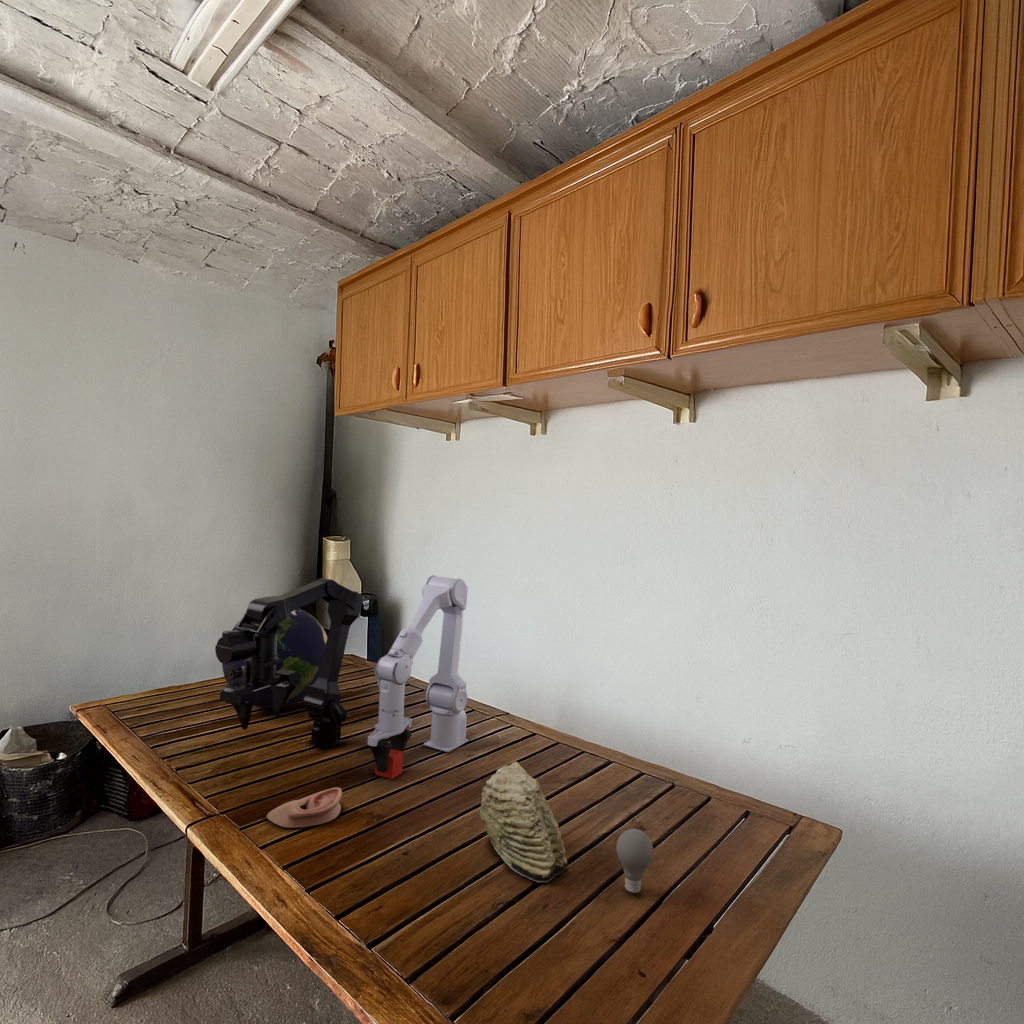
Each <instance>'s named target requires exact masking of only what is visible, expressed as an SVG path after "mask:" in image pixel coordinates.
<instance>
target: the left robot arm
mask: <svg viewBox="0 0 1024 1024" xmlns="http://www.w3.org/2000/svg"><path fill="white" fill-rule="evenodd" d="M319 600H323V601H325V602H326V603H327V614H328V617H329V621H330V624H329V629H328V632H327V633H328V634H327V642H326V646H325V650H324V654H323V659H322V663H321V667H320V672H319V676H318V679H317V680H316V681H315V683H314V684H313V685H308V686H307V689H306V695H305V698H304V699H303V700H302V701H303V702H304V705H303V707H304V709H305V711H306V712H307V715H308V719H311V720H313V721H312V722H313V723H312V727H311V730H310V731H311V732H310V733H311V735H310V739H309V740H308V743H309V744H310V745H313V746H314V747H316V748H318V749H320V750H327V749H329V748H333V747H336V746H340V745H343V744H344V743H345V741H344V740H343V739H341V737H342V735H341V733H342V724H343V722H346V720H347V717H348V714H349V712H348V710H347V709H346V708H345V707H343V705H341V695H342V694H341V690H340V686H339V683H338V682H339V677H340V673H341V668H342V664H343V659H344V654H345V652H346V651H345V650H346V647H347V646H346V645H347V642H348V637H349V632H350V628H351V625H353V623H354V622H355V621H356V620H357V619H358V617H359V615H360V612H361V610H362V607H363V602H364V600H363V597H362V596H361V594H360V592H358V591H355V590H351V589H349V588H348V587H346V586H343V585H341V584H340V583H339V582H337V581H335V580H334V579H330V578H322V577H320V578H317V579H316V580H315V581H312V582H310V583H308V584H305V585H303V586H301V587H298V588H296V589H293V590H290V591H288V592H286V593H283V594H279V595H275V596H274V595H273V596H263V597H258V598H255V599H252V600H251V601H250V602H249V603H248V606H247V609H246V610H245V612H244V614H243V615H242V616H241V618H240V620H239V621H240V622H239V621H238V622H239V623H238V622H237V623H238V625H237V626H236V630H234V631H232V630H224V631H222V633H221V637H220V638H218V640H217V642H216V644H215V647H214V650H215V656H216V658H217V660H218V661H219V662H220V663H221V664H222V663H223V664H227V663H231V662H236V661H240V660H244V659H246V660H245V662H244V666H242V667H239V668H237V667H236V665H235V664H234V665H230V666H227V667H225V669H224V673H223V677H224V680H225V681H226V682H227V681H228V680H231V683H235V682H236V681H240V680H242V682H243V683H249V685H247V686H246V685H241V684H237V683H235V684H232V685H226V686H223V687H222V688H221V689H220V691H219V701H221V702H225V703H226V704H229V705H231V706H232V707H233V709H234V710H235V712H236V713H235V714H236V715H237V718H238V720H239V723H240V726H241V729H242V730H247V729H248V727H249V724H250V722H251V721H250V720H251V715H252V711H253V707H254V705H253V703H254V701H252V700H251V699H252V697H253V692H256V691H260V690H263V689H266V688H269V687H270V688H271V690H272V692H273V709H272V713H273V717H274V718H278V717H279V716H280V714H281V712H282V710H283V708H285V707H284V705H285V703H286V701H287V699H288V698H289V696H290V694H291V693H292V691H293V690H294V689H295V688H296V686H295V685H297V684H300V675H299V673H298V672H297V671H292V670H287V669H282V670H278V671H276V664H279V663H280V659H279V658H276V655H277V654H276V653H277V634H280V633H285V629H283V628H282V627H281V626H280V625H279V623H281V622H282V621H284V620H285V619H286V618H287V617H288V615H289V614H290V613H291V612H293V611H294V610H297V609H299V608H300V609H302V608H303V607H305V606H308V605H311V604H313V603H315V602H318V601H319ZM251 623H253V624H258V625H260V626H257V625H252V624H251ZM249 658H250V659H249ZM257 686H258V687H257Z"/></svg>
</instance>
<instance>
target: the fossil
mask: <svg viewBox="0 0 1024 1024" xmlns="http://www.w3.org/2000/svg"><path fill="white" fill-rule="evenodd" d="M479 819H480V820H481V822H482V823H483V827H484V829H485V832H486V833H487V836H488V838H489V840H490V842H491V844H492V845H493V848H494V850H495V852H496V853H497V854H498V856H500V858H501V859H502V861H503V862H504V863H505V864H506V865H507V867H509V868H510V869H511V870H513V871H514V873H517V874H519V875H520V876H522V877H525V878H527V879H528V880H531V881H533V882H536V883H548V882H550V881H552V880H553V879H554V878H555V877H556V876H557V875H560V874H561V873H563V872H564V871H565V870H566V868H567V867H568V866H569V863H568V859H567V856H566V848H565V847H564V841H563V838H562V834H561V831H560V826H559V824H558V822H557V821H556V818H555V817H554V813H553V811H552V810H551V807H550V805H549V803H548V802H547V799H546V796H545V794H544V790H543V789H542V786H541V784H540V781H539V780H537V779H535V778H533V777H532V776H531V775H529V773H528V772H527V771H526V769H524V768H523V766H521V764H520V763H519V762H518V761H513V762H512V763H511V764H509V765H507V764H506V765H504V766H502V767H500V768H498V769H497V770H496V772H495V773H494V774H492V775H491V776H490V778H489V779H487V780H486V782H485V786H483V788H482V792H481V802H480V808H479Z"/></svg>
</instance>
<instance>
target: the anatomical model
mask: <svg viewBox="0 0 1024 1024" xmlns="http://www.w3.org/2000/svg"><path fill="white" fill-rule="evenodd" d="M342 790H343V789H342V788H341V787H339V786H338V787H331V788H327V789H324V790H321V791H317V792H315V793H312V794H310V795H307V796H305V797H302V798H299V799H295V800H290V801H287V802H285V803H282V804H281V805H279V806H277V807H275V808H273V809H272V810H270V811H269V812H268V813H267V814H266V819H267V820H268V821H270V822H271V823H273V824H275V825H276V826H279V827H282V828H286V829H292V828H293V829H295V828H307V827H312V826H313V827H314V826H318V825H322V824H325V823H329V822H331V821H333V820H334V819H336V818H337V817H338V816H339V815H340V813H341V810H342V806H341V803H340V801H341V799H342V797H343V796H342V795H343V791H342Z"/></svg>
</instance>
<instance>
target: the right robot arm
mask: <svg viewBox="0 0 1024 1024" xmlns="http://www.w3.org/2000/svg"><path fill="white" fill-rule="evenodd" d="M468 590H469V587H468V585H467V583H466V582H465V580H463V578H453V577H445V576H437V575H433V574H432V575H429V576H428V577H427V578H426V580H425V581H424V584H423V585H422V588H421V594H422V598H421V600H420V603H419V604H418V607H417V608H416V611H415V613H414V615H413V618H412V619H411V621H410V624H409V626H408V627H403V628H402V629H401V630H400V632H399V634H398V635H397V637H396V638H395V641H394V642H393V643H392V645H391V647H390V648H389V651H388V653H386V654H385V655H384V656H382V657H380V658H379V659H378V661H377V663H376V665H375V668H374V675H375V678H376V679H377V686H378V688H379V693H378V697H379V698H378V717H377V718H378V720H377V721H378V722H377V723H376V724H374V730H373V732H372V733H371V734H370V735H368V736H367V746H368V747H369V749H370V751H371V753H372V756H373V759H374V763H375V767H376V768H377V771H379V772H383V773H385V772H386V770H387V765H388V757H389V753H390V750H391V749H394V750H399V751H403V754H404V753H405V749H406V746H407V744H408V742H409V740H410V738H411V737H412V733H413V732H412V731H411V730H409V728H411V727H412V723H413V722H412V720H413V719H412V718H410V717H405V693H406V692H405V691H406V682H407V681H408V679H409V678H410V676H411V674H412V669H413V668H412V666H413V665H414V658H415V656H416V654H417V653H418V650H419V649H420V647H421V645H422V643H423V642H424V639H423V635H422V634H423V632H424V631H425V629H426V628H427V626H428V625H429V623H430V622H431V621H432V618H433V617H434V616H435V614H436V613H437V611H438V610H441V611H442V613H443V617H442V628H441V637H440V647H439V657H438V667H437V673H435V674H433V675H432V676H431V677H430V678H429V681H428V682H429V683H428V686H427V689H426V691H425V702H426V704H427V706H429V710H430V711H431V722H430V723H431V724H430V726H431V728H430V739H429V740H427V741H425V742H424V743H423V746H424V747H428V748H431V749H434V750H439V751H442V752H445V753H449V752H451V751H453V750H455V749H457V748H459V747H461V746H462V745H464V744H466V743H468V742H469V739H468V738H467V721H468V719H467V717H468V716H467V714H466V710H464V709H465V707H466V706H467V703H468V692H467V681H466V679H464V678H463V677H462V676H461V675H460V673H459V669H460V659H461V658H460V657H461V647H462V638H463V627H464V617H465V616H464V615H465V610H466V609H467V604H468V602H467V601H468V593H469V591H468ZM407 728H408V729H407ZM388 738H389V741H390V742H388V741H387V739H388Z"/></svg>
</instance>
